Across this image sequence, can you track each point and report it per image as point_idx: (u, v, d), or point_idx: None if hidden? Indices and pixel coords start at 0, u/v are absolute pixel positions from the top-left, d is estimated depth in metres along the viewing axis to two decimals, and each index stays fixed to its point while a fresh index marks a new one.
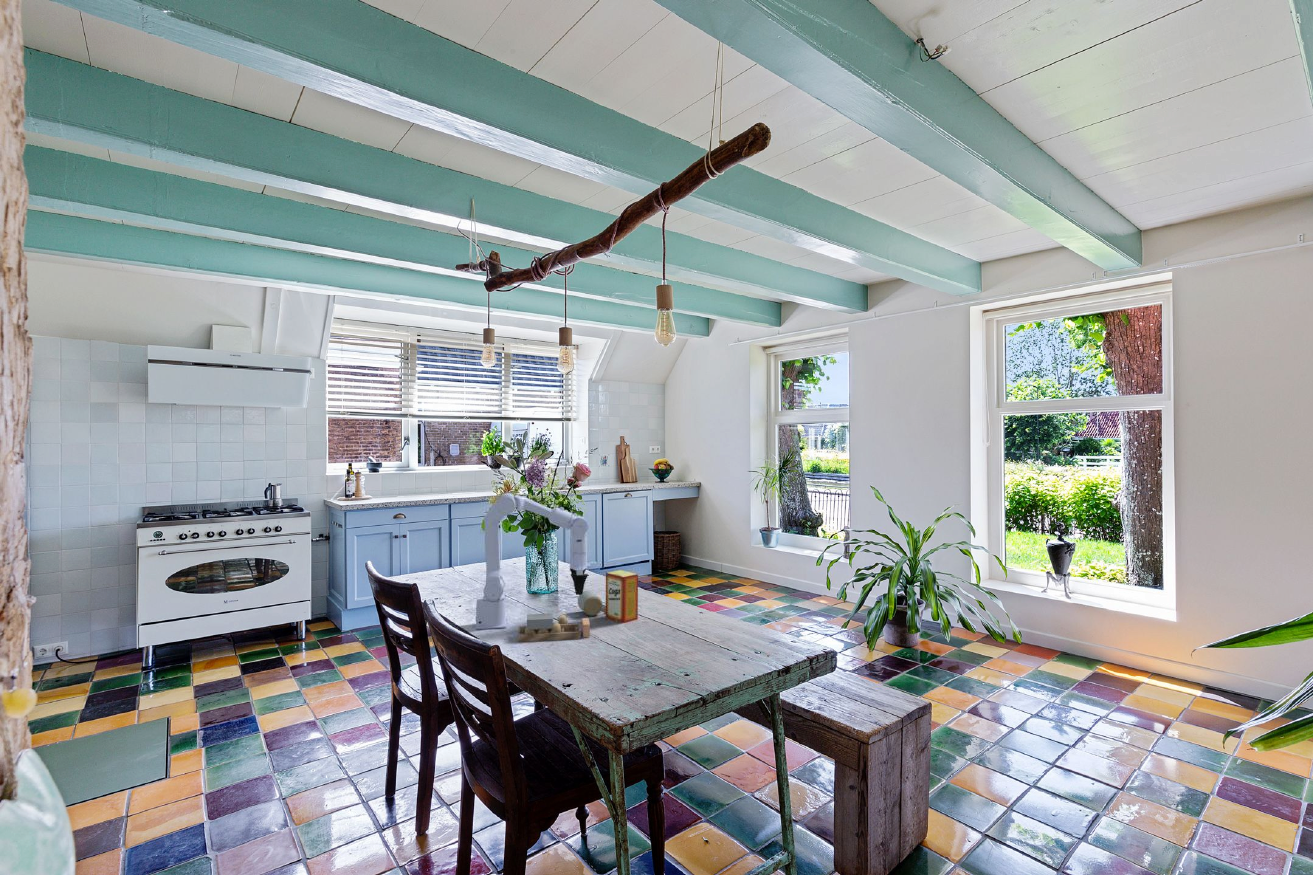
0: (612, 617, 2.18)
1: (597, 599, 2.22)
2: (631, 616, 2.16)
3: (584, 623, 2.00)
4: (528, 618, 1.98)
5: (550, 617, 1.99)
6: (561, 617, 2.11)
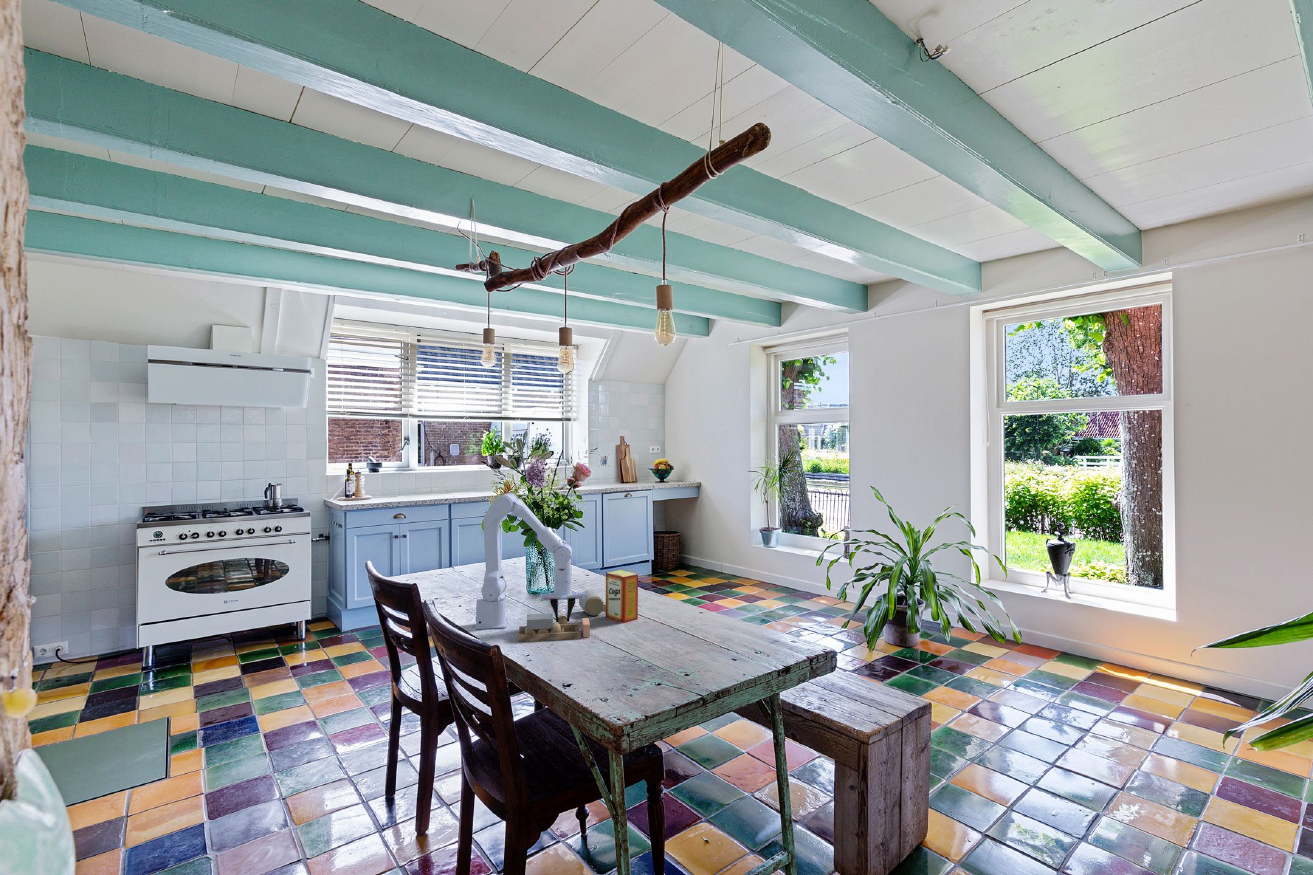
0: (612, 617, 2.18)
1: (598, 599, 2.22)
2: (631, 616, 2.16)
3: (584, 623, 2.00)
4: (528, 618, 1.98)
5: (550, 617, 1.99)
6: (561, 617, 2.11)
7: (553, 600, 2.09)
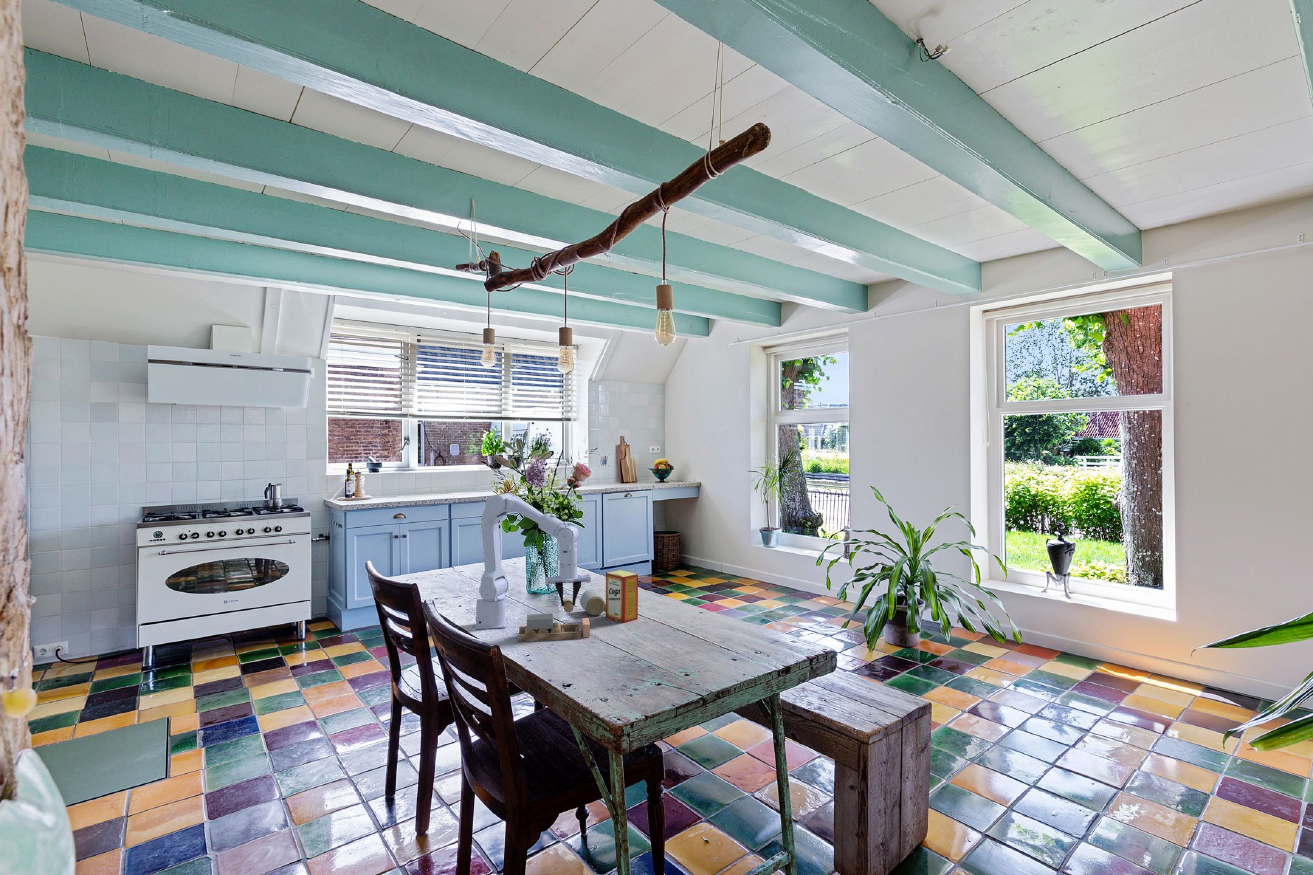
0: (612, 617, 2.18)
1: (599, 599, 2.22)
2: (631, 616, 2.16)
3: (584, 623, 2.00)
4: (528, 618, 1.98)
5: (550, 617, 1.99)
6: (566, 601, 2.04)
7: (558, 583, 2.03)
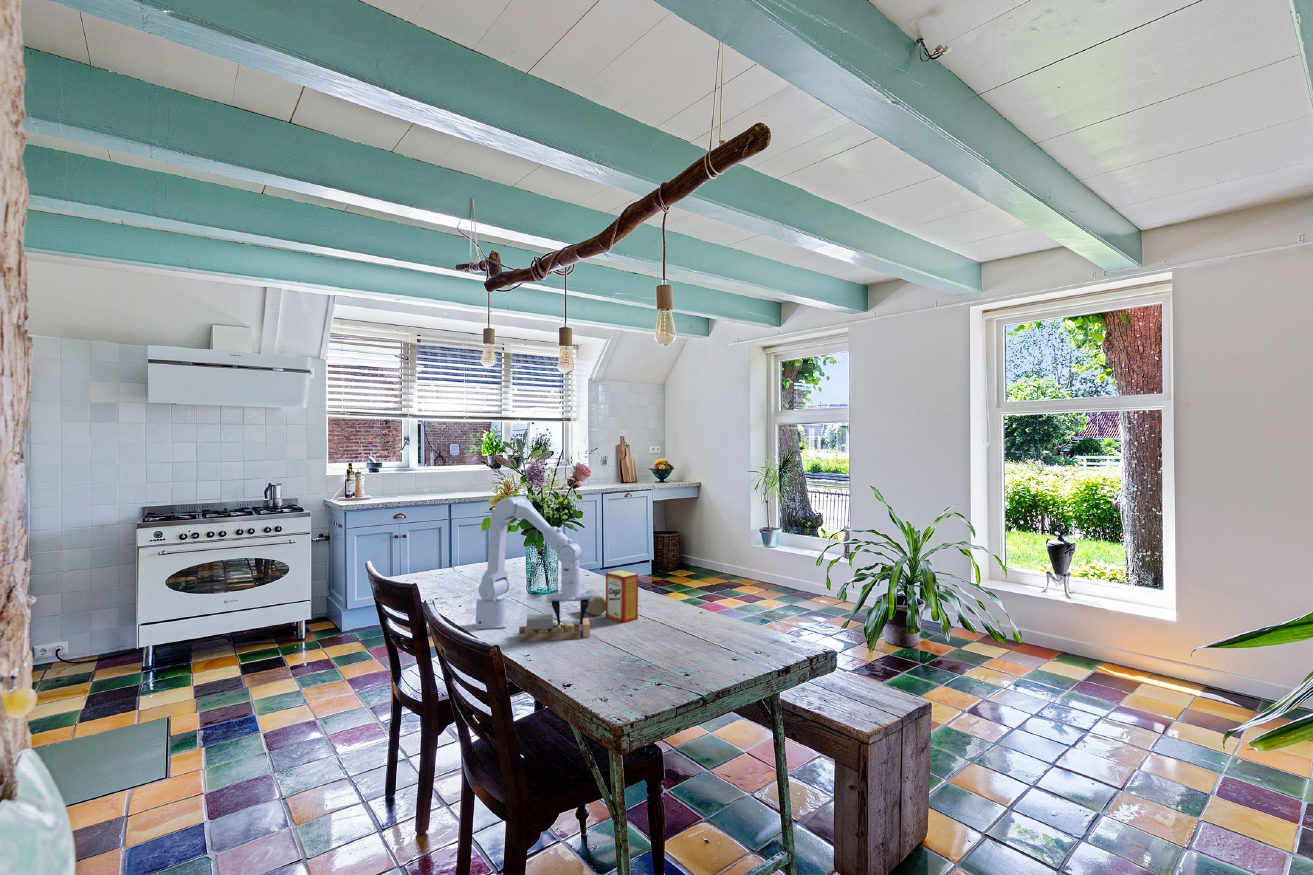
0: (612, 617, 2.18)
1: (601, 599, 2.22)
2: (631, 616, 2.16)
3: (584, 623, 2.00)
4: (528, 618, 1.98)
5: (550, 617, 1.99)
6: (568, 626, 2.01)
7: None
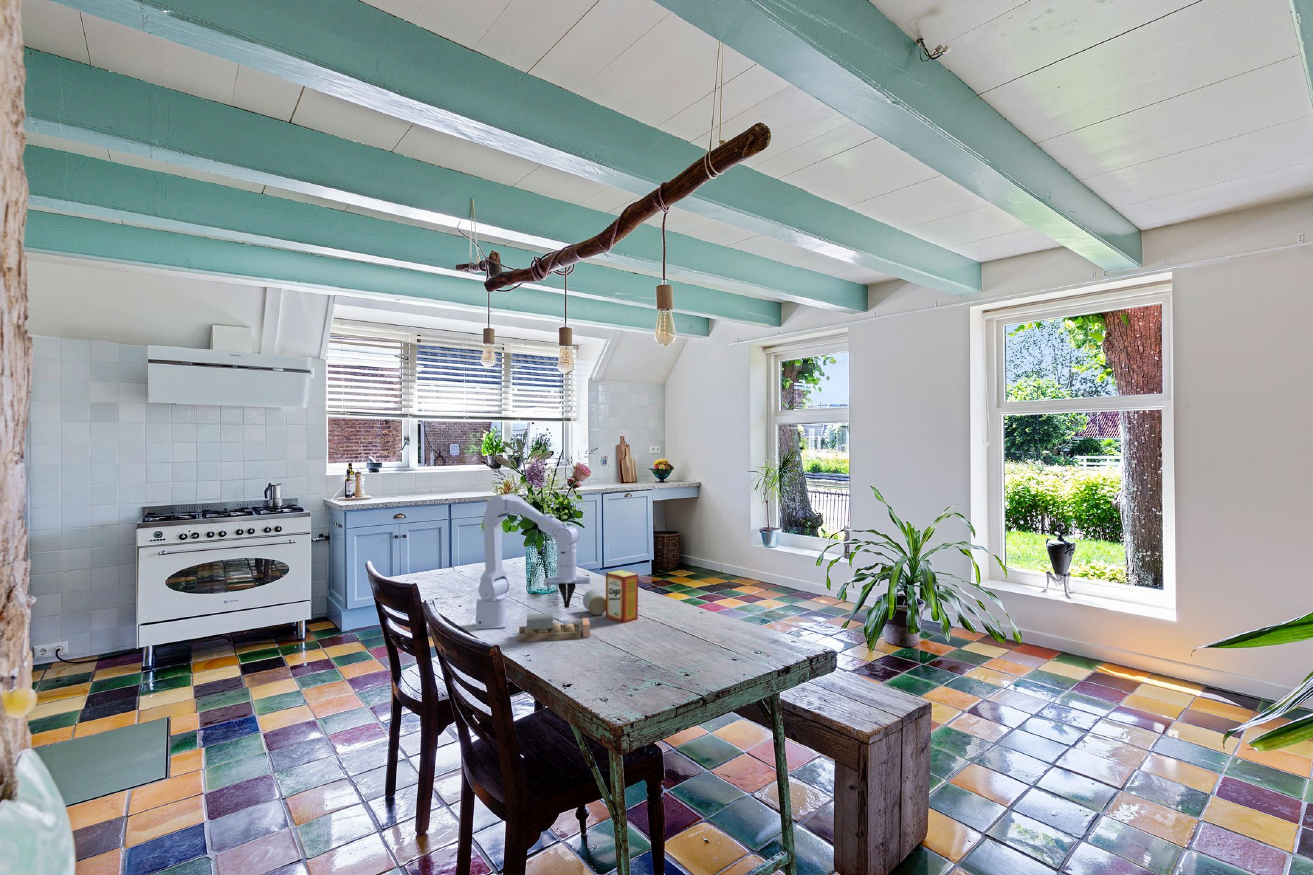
0: (612, 617, 2.18)
1: (602, 599, 2.22)
2: (631, 616, 2.16)
3: (584, 623, 2.00)
4: (528, 618, 1.98)
5: (550, 617, 1.99)
6: (568, 626, 2.01)
7: None
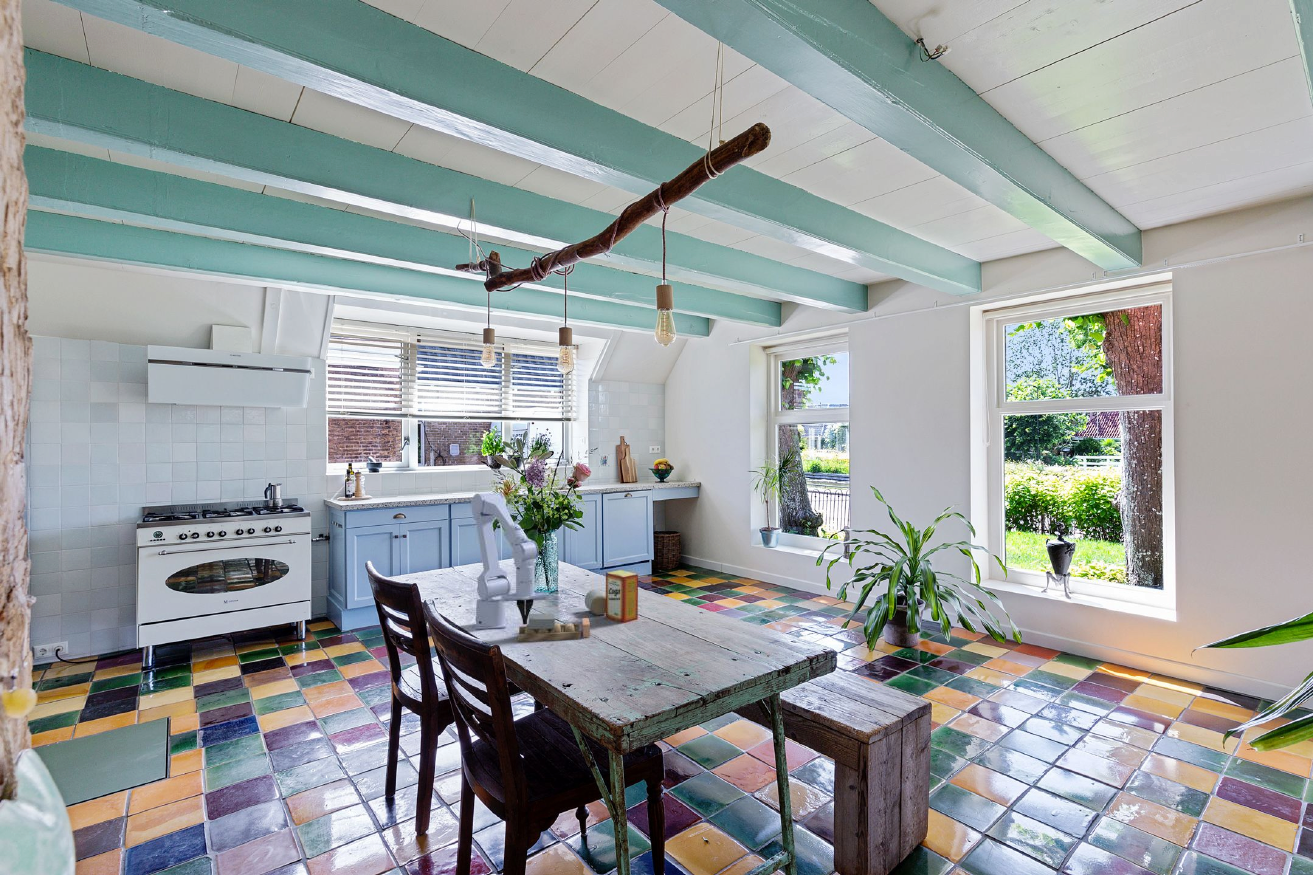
0: (612, 617, 2.18)
1: (604, 598, 2.23)
2: (631, 616, 2.16)
3: (584, 623, 2.00)
4: (530, 617, 1.98)
5: (552, 617, 1.99)
6: (568, 626, 2.01)
7: None
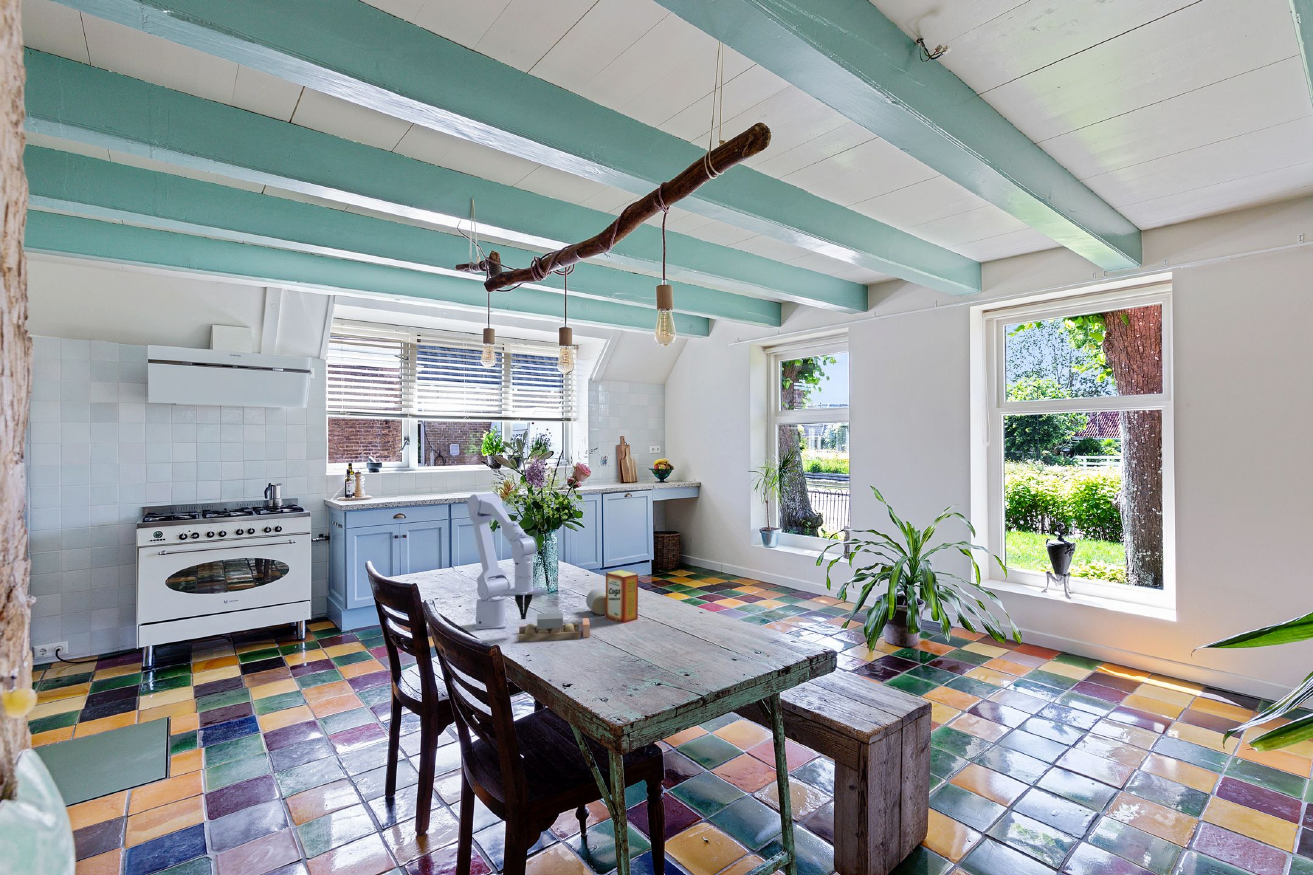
0: (612, 617, 2.18)
1: None
2: (631, 616, 2.16)
3: (584, 623, 2.00)
4: (538, 617, 1.98)
5: (560, 616, 1.99)
6: (568, 626, 2.01)
7: None
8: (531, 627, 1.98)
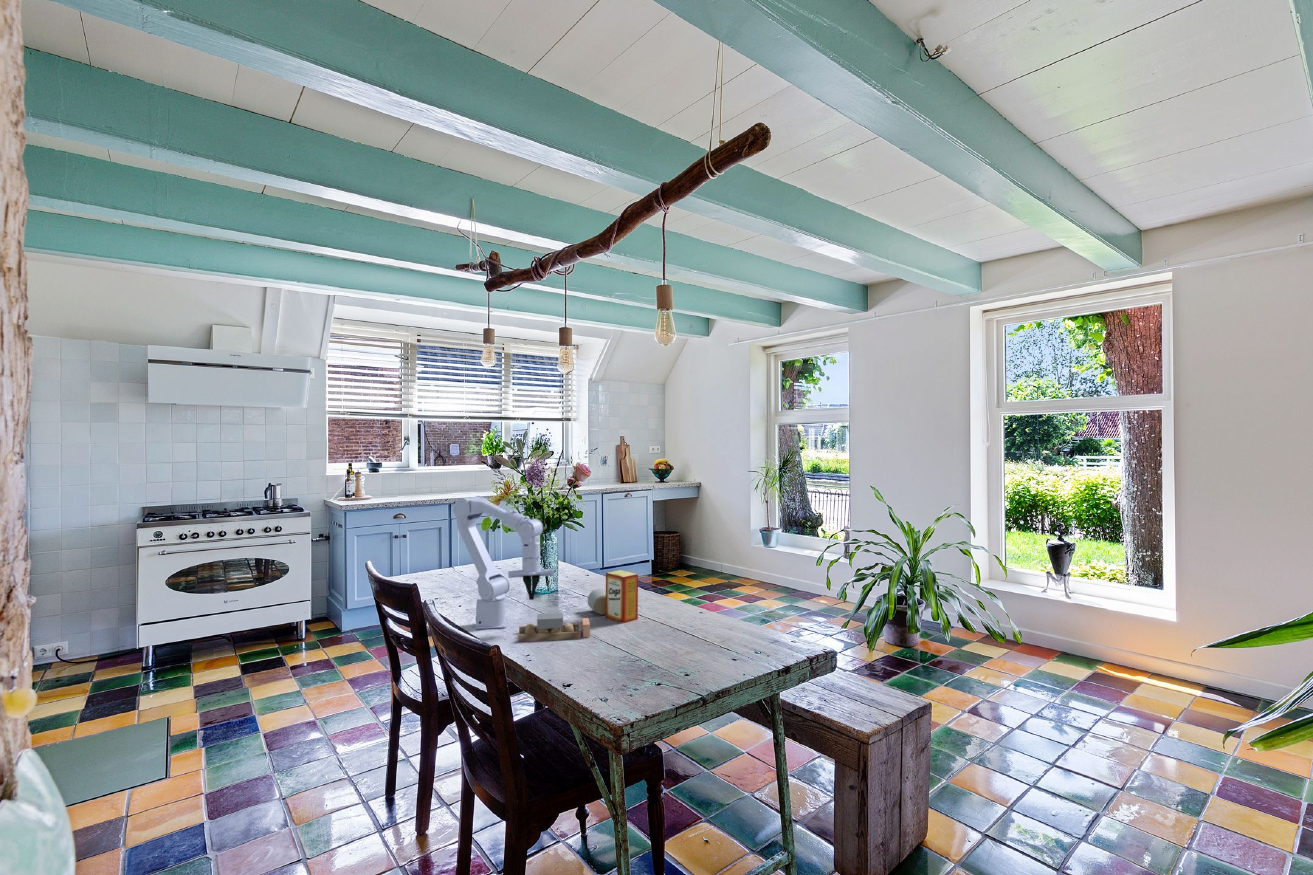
0: (612, 617, 2.18)
1: None
2: (631, 616, 2.16)
3: (584, 623, 2.00)
4: (538, 617, 1.98)
5: (560, 616, 1.99)
6: (566, 626, 2.01)
7: None
8: (531, 627, 1.98)
